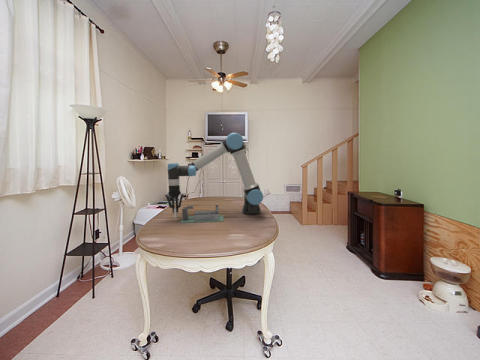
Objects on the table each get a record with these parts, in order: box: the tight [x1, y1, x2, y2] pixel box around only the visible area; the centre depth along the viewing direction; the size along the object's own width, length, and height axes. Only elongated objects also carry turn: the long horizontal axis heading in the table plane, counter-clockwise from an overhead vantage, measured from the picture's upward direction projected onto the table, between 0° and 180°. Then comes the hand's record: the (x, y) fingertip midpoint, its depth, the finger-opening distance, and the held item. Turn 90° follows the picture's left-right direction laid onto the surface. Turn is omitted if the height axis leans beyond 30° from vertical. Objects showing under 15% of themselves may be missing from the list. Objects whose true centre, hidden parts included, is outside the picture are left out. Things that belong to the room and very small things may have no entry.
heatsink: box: [193, 204, 220, 221], centre depth 153 cm, size 17×11×9 cm, turn 95°
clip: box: [181, 205, 195, 220], centre depth 151 cm, size 7×6×9 cm
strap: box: [194, 207, 216, 211], centre depth 152 cm, size 17×4×1 cm, turn 95°
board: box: [179, 214, 224, 224], centre depth 153 cm, size 30×13×1 cm, turn 95°
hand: (175, 216), depth 151 cm, fingers closed
